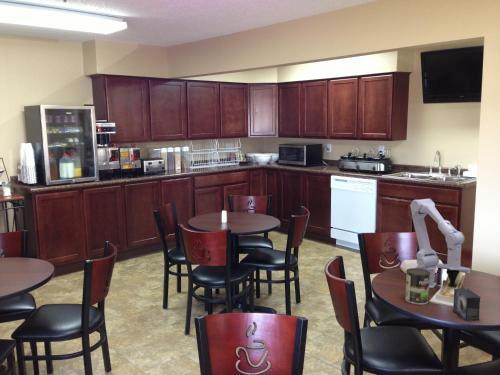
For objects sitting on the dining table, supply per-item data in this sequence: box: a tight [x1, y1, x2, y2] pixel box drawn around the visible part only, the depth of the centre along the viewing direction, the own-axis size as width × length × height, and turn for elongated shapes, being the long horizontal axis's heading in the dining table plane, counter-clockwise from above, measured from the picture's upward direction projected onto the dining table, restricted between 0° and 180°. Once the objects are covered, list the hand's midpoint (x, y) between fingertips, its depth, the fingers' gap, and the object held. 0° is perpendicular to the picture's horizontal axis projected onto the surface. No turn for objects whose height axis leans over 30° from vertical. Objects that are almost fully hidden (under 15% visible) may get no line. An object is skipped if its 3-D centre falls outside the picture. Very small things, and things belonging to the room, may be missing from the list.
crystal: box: [400, 259, 444, 274], centre depth 255 cm, size 7×7×24 cm
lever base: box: [429, 279, 466, 308], centre depth 219 cm, size 13×25×6 cm, turn 144°
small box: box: [452, 287, 481, 322], centre depth 198 cm, size 11×6×10 cm, turn 5°
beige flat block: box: [435, 290, 454, 303], centre depth 215 cm, size 9×8×2 cm
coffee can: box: [404, 268, 430, 306], centre depth 214 cm, size 10×10×14 cm
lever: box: [442, 272, 466, 296], centre depth 222 cm, size 7×17×5 cm, turn 144°
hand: (452, 285), depth 220 cm, fingers closed, pressing on lever
